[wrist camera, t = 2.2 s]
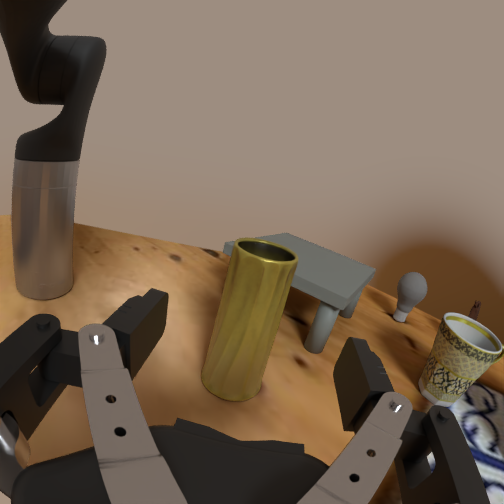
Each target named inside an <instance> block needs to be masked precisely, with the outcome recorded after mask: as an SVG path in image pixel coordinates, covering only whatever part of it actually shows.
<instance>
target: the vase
mask: <svg viewBox="0 0 504 504" xmlns="http://www.w3.org/2000/svg"><path fill="white" fill-rule="evenodd" d="M297 265H298V255H297V254H296V253H295V252H293V251H292V250H291V249H289V248H287V247H285V246H282V245H280V244H277V243H274V242H271V241H267V240H263V239H257V238H240V239H237V240H236V241H235V242H234V245H233V249H232V254H231V258H230V262H229V267H228V271H227V275H226V279H225V284H224V289H223V293H222V297H221V301H220V305H219V309H218V313H217V317H216V321H215V325H214V329H213V332H212V336H211V340H210V344H209V348H208V352H207V357H206V361H205V364H204V367H203V370H202V373H201V378H202V382H203V384H204V386H205V387H206V388H207V389H208V390H209V391H210V392H211V393H212V394H214V395H216V396H218V397H220V398H222V399H225V400H229V401H244V400H248V399H250V398H252V397H254V396H255V395H256V394H257V393H258V392H259V390H260V388H261V383H262V377H263V374H264V371H265V368H266V364H267V361H268V358H269V354H270V351H271V348H272V345H273V342H274V339H275V336H276V333H277V330H278V327H279V323H280V320H281V317H282V313H283V310H284V307H285V303H286V300H287V296H288V293H289V290H290V286H291V283H292V280H293V277H294V274H295V271H296V268H297Z"/></svg>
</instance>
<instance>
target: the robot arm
mask: <svg viewBox="0 0 504 504" xmlns="http://www.w3.org/2000/svg"><path fill="white" fill-rule="evenodd" d="M66 1H67V0H0V33H1V36H2V38H3V41H4V44H5V47H6V50H7V53H8V56H9V60H10V64H11V67H12V70H13V73H14V77H15V80H16V83H17V86H18V89H19V91H20V93H21V95H22V96H23V98H24V99H25V100H26V101H28V102H30V103H33V104H51V105H52V104H53V105H64V107H63V109H62V111H61V113H60V114H59V115H58V116H57V117H56V118H55V119H54V120H52V121H51V122H49V123H48V124H46V125H44V126H42V127H40V128H38V129H35V130H32V131H29V132H27V133H24V134H23V135H21V136H20V137H19V138H18V140H17V144H16V150H15V160H14V170H13V187H12V247H13V262H14V272H15V281H16V287H17V290H18V291H19V292H20V293H21V294H22V295H24V296H26V297H28V298H32V299H39V300H45V299H53V298H56V297H60V296H62V295H64V294H65V293H67V292H68V291H69V290H70V289H71V288H72V286H73V225H74V208H75V196H76V186H77V176H78V168H79V161H80V160H79V159H80V154H81V148H82V142H83V137H84V132H85V127H86V122H87V118H88V114H89V110H90V106H91V103H92V100H93V97H94V93H95V90H96V87H97V84H98V82H99V79H100V76H101V72H102V69H103V66H104V62H105V58H106V44H105V41H104V40H103V39H101V38H98V37H91V36H55V35H53V34H51V33H50V31H49V28H48V24H49V22H50V20H51V19H52V17H53V16H54V15H55V14H56V12H57V11H58V10H59V9H60V8H61V7H62V6H63V4H64V3H65V2H66ZM168 298H169V296H168V293H166V292H163V291H160V290H156V289H153V288H151V289H150V290H149V291H148V292H147V293H146V294H145V295H144V296H143V297H142V296H139V295H138V296H135V297H132V298H130V299H128V300H127V301H126V302H125V303H124V304H123V305H122V306H120V307H119V308H118V310H116V311H115V312H114V313H113V314H112V315H111V316H110V317H109V318H108V319H107V320H106V321H105V322H104V323H103V324H89V325H86V326H84V327H83V328H81V329H80V331H79V332H74V331H69V330H64V329H61V325H60V321H59V319H58V318H57V317H55V316H53V315H51V314H38V315H35V316H33V317H31V318H30V319H29V320H27V321H26V322H25V323H24V324H23V325H21V326H20V327H19V328H18V329H17V330H15V331H14V332H13V333H12V334H11V335H9V336H8V337H7V338H6V339H5V340H4V341H3V342H1V343H0V491H1V492H2V493H4V494H5V495H6V496H8V497H9V498H10V499H11V504H368V503H369V501H370V500H371V498H372V497H373V495H374V493H375V492H376V490H377V488H378V487H379V485H380V483H381V482H382V480H383V478H384V476H385V475H386V473H387V471H388V469H389V467H390V466H391V464H392V462H393V460H394V461H395V466H396V471H397V476H398V481H399V486H400V492H401V497H402V503H403V504H490V501H489V498H488V495H487V492H486V489H485V487H484V484H483V481H482V478H481V476H480V473H479V470H478V468H477V465H476V463H475V460H474V458H473V455H472V453H471V451H470V448H469V446H468V444H467V441H466V439H465V437H464V435H463V433H462V430H461V428H460V426H459V424H458V422H457V420H456V418H455V416H454V414H453V413H452V412H451V411H450V410H449V409H448V408H446V407H444V406H440V405H435V406H432V407H431V408H430V410H429V411H428V412H427V414H426V413H423V412H419V411H416V410H412V404H411V402H410V401H409V400H408V399H407V398H406V397H405V396H403V395H402V394H399V393H397V392H395V391H394V389H393V387H392V384H391V382H390V380H389V377H388V375H387V374H386V371H385V368H383V367H384V366H383V364H382V362H381V360H380V358H379V357H378V356H377V355H376V354H375V353H374V352H371V350H370V348H369V346H368V344H367V341H366V340H364V339H359V338H353V337H349V338H348V339H347V341H346V343H345V345H344V347H343V349H342V352H341V354H340V356H339V358H338V360H337V362H336V364H335V367H334V372H333V378H334V383H335V388H336V393H337V397H338V403H339V408H340V413H341V418H342V424H343V429H344V431H353V432H354V433H355V435H354V436H353V438H352V439H351V440H350V442H349V443H348V444H347V446H346V447H345V448H344V449H343V451H342V452H341V453H340V454H339V456H338V457H337V458H336V459H335V460H334V462H333V463H332V464H331V465H330V466H328V465H327V464H325V463H324V462H322V461H321V460H319V459H317V458H315V457H313V456H311V455H308V454H306V453H304V444H298V443H289V442H282V441H275V440H268V441H240V440H237V439H235V438H232V437H230V436H228V435H225V434H223V433H221V432H219V431H217V430H215V429H212V428H210V427H208V426H204V425H200V424H197V423H193V422H190V421H187V420H183V419H180V418H177V420H176V423H175V425H174V426H170V425H157V426H149V427H148V425H147V423H146V420H145V417H144V415H143V412H142V409H141V407H140V404H139V401H138V398H137V395H136V393H135V390H134V387H133V384H132V380H133V379H134V377H135V376H136V374H137V373H138V371H139V370H140V368H141V367H142V365H143V364H144V362H145V361H146V359H147V358H148V356H149V355H150V353H151V352H152V350H153V349H154V347H155V346H156V344H157V343H158V341H159V340H160V338H161V337H162V335H163V333H164V330H165V326H166V317H167V307H168ZM36 366H37V367H36ZM35 367H36V368H35ZM34 368H35V369H34ZM33 369H34V370H33ZM32 370H33V372H32V373H31V371H32ZM30 373H31V374H30ZM67 385H72V386H77V387H82V388H83V392H84V399H85V405H86V410H87V415H88V421H89V425H90V430H91V435H92V439H93V443H94V446H93V447H90V448H87V449H84V450H81V451H78V452H75V453H71V454H68V455H65V456H61V457H58V458H55V459H51V460H47V461H43V462H40V463H36V464H33V465H30V466H28V467H27V464H28V460H29V457H30V446H29V443H28V442H27V441H28V440H29V438H30V437H31V435H32V434H33V432H34V431H35V429H36V428H37V426H38V425H39V423H40V422H41V421H42V419H43V418H44V416H45V415H46V414H47V412H48V411H49V409H50V408H51V407H52V405H53V404H54V402H55V401H56V400H57V398H58V397H59V396H60V394H61V393H62V392H63V390H64V389H65V388H66V386H67ZM431 452H433V455H434V458H435V462H436V465H435V469H434V471H433V472H432V473H431V469H430V466H429V463H428V459H427V456H428V455H429V454H430V453H431Z"/></svg>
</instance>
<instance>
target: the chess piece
mask: <svg viewBox="0 0 504 504" xmlns="http://www.w3.org/2000/svg"><path fill="white" fill-rule="evenodd" d="M480 306H481V302H479V301H478V302H477V303H476V302H475V305H474V306H473V307H472V309H471V311H470V314H469V316H468V317H469V318H471V319H473V320H475V321H476V319H477V316H478V313H479V309H480Z"/></svg>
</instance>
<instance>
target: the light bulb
mask: <svg viewBox="0 0 504 504" xmlns="http://www.w3.org/2000/svg"><path fill="white" fill-rule="evenodd" d="M397 290H398V302H397V308H396V311H395V313H394V315H393V317H394V319H395V320H396V321H398V322H404V321H405V319H406V316H407V315H408V313H409V312H410V311H411V310H412V308H413V307H414V306H415V305H416V304H418V303H419V302H420V301H421V300H423V298H424V297H425V295H426V293H427V283H426V280H425V278H424V277H423V276H422V275H421V274H419V273H416V272H410V273H407V274H405V275H404V276H403V277H402V278H401V279H400V280H399V283H398V287H397Z"/></svg>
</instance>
